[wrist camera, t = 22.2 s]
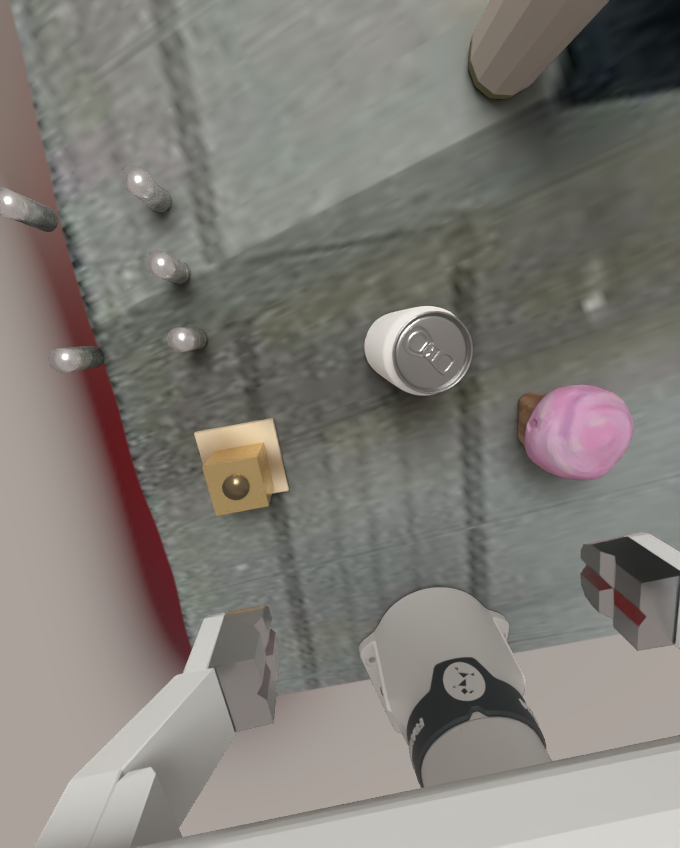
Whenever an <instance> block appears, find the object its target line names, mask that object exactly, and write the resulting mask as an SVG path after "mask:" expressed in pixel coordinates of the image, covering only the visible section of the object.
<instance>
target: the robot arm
mask: <svg viewBox="0 0 680 848" xmlns="http://www.w3.org/2000/svg"><path fill="white" fill-rule="evenodd" d="M581 559H582V560H583V562H584V563H585V564H586V566H585V568H584V569H583V571H582V572H581V586H582V589H583V591H584V594H585V596H586V598H587V599H588V601H589V602H590V604H591V605H592V606H593V607H594V608H595V609H596V610H597V611H598V612H599V613H601V614H603V615H605V616H607V617H610V618H612V619H613V626H614V628H615V629H616V630H617V631H618V632H619V633H620V634H621V635H622V636H623V637H624V638H625V639H626V640H627V641H628V642H629V643H630V644H631V645H632V646H633V647H634V648H635V649H636V650H637V651H639V650H646V649H651V648H657V647H664V646H670V645H675V647H677V648H679V649H680V552H679V551H677V550H675V549H674V548H672V547H670V546H669V545H667V544H665V543H664V542H662V541H660V540H659V539H657V538H655V537H654V536H652V535H650V534H648V533H644V532H639V533H635V534H630V535H625V536H622V537H618V538H613V539H608V540H603V541H598V542H593V543H588V544H584V545H583V547H582V549H581ZM271 620H272V617H271V614H270V610H269V607H268V606H266V605H264V606H258V607H252V608H246V609H240V610H234V611H228V612H224V613H218V614H213V615H208V616H207V617H206V618H205V619H204V620H203V622H202V625H201V628H200V630H199V633H198V635H197V638H196V641H195V643H194V646H193V648H192V651H191V654H190V656H189V659H188V661H187V664H186V666H185V669H184V672H183V674H179V675H176V676H175V677H174V678H173V679H172V680H171V681H170V682H169V683H168V684H167V685H166V686H165V687H164V688H163V689H162V690H161V691H160V692H159V693H158V694H157V695H156V696H155V697H154V698H153V699H152V700H151V701H150V702H149V703H148V704H147V705H146V706H145V707H144V708H143V709H142V710H141V711H140V712H139V713H138V714H137V715H136V716H135V717H134V718H133V719H132V720H131V721H130V722H129V723H128V724H127V725H126V726H125V727H124V728H123V729H122V730H121V731H120V732H119V733H118V734H117V735H116V736H115V737H114V738H113V739H112V740H111V741H110V742H109V743H108V744H107V745H106V746H105V747H104V748H103V749H101V750H100V751H99V753H97V755H96V756H94V757H93V758H92V760H91V761H90V762H88V763H87V764H86V765H85V766H84V767H83V768H82V769H81V770H80V771H79V772H78V773H77V774H76V775H75V776H74V777H73V778H72V779H71V780H70V782H69V784H68V786H67V787H66V789H65V791H64V793H63V795H62V797H61V798H60V800H59V802H58V804H57V806H56V808H55V809H54V811H53V813H52V815H51V817H50V819H49V821H48V822H47V824H46V826H45V828H44V830H43V831H42V833H41V835H40V837H39V839H38V841H37V843H36V844H35V846H34V848H680V735H678V736H673V737H668V738H663V739H658V740H654V741H649V742H644V743H639V744H634V745H629V746H625V747H620V748H615V749H610V750H605V751H601V752H596V753H591V754H586V755H581V756H576V757H572V758H567V759H562V760H557V761H552V760H551V758H550V756H549V755H548V753H547V751H546V743H545V739H544V737H543V734H542V732H541V730H540V728H539V725H538V722H537V720H536V719H535V716H534V715H533V713H532V711H531V709H530V708H529V707H528V706H527V704H526V703H525V701H524V699H523V695H524V690H525V686H524V685H525V684H526V678H525V676H524V674H523V672H522V670H521V668H520V666H519V664H518V662H517V660H516V658H515V656H514V654H513V653H512V651H511V649H510V647H509V645H508V643H507V638H508V632H509V624H508V622H507V620H506V618H505V617H504V616H503V615H501V614H499V613H497V612H494V611H491V610H488V609H486V608H485V607H484V606H482V605H481V604H480V603H479V602H478V601H477V600H476V599H475V598H474V597H472V596H471V595H469V594H467V593H465V592H463V591H460V590H457V589H453V588H446V587H434V588H427V589H423V590H419V591H416V592H414V593H411V594H409V595H407V596H405V597H404V598H402V599H400V600H399V601H398V602H396V603H395V604H394V605H393V606H392V607H391V608H390V609H389V610H388V611H387V612H386V614H385V615H384V616H383V618H382V620H381V621H380V623H379V625H378V627H377V628H376V630H375V631H374V632H373V633H372V634H370V635H369V636H368V637H367V638H366V639H364V640H363V641H362V642H361V644H360V645H359V648H358V649H359V653H360V657H361V659H362V662H363V664H364V666H365V668H366V670H367V672H368V674H369V677H370V679H371V681H372V683H373V685H374V687H375V690H376V692H377V694H378V696H379V698H380V700H381V702H382V705H383V707H384V709H385V711H386V713H387V715H388V717H389V720H390V722H391V724H392V726H393V728H394V730H395V731H396V732H399V733H402V735H403V737H404V738H405V740H406V742H407V744H408V746H409V751H410V752H409V753H410V757H411V761H412V765H413V768H414V770H415V773H416V776H417V779H418V782H419V784H420V786H421V788H420V789H415V790H411V791H405V792H400V793H396V794H391V795H386V796H382V797H376V798H371V799H366V800H362V801H357V802H352V803H348V804H342V805H337V806H332V807H328V808H323V809H318V810H313V811H308V812H303V813H298V814H294V815H289V816H284V817H279V818H274V819H269V820H265V821H259V822H255V823H250V824H245V825H240V826H235V827H230V828H225V829H221V830H216V831H211V832H206V833H201V834H196V835H191V836H187V837H182V835H181V833H180V830H179V827H180V825H181V824H182V822H183V821H184V819H185V817H186V816H187V814H188V812H189V811H190V809H191V807H192V806H193V804H194V803H195V800H196V799H197V798H198V796H199V794H200V793H201V791H202V789H203V788H204V786H205V784H206V783H207V781H208V779H209V778H210V776H211V775H212V773H213V771H214V770H215V768H216V766H217V765H218V763H219V761H220V760H221V758H222V757H223V755H224V753H225V752H226V750H227V748H228V747H229V745H230V743H231V742H232V740H233V739H234V737H235V735H236V734H235V732H239V731H243V730H248V729H252V728H256V727H260V726H265V725H269V724H273V723H274V714H275V705H276V696H277V693H276V690H275V686H274V681H275V680H276V679H277V677H278V676H279V665H280V663H279V646H278V640H277V636H276V633H275V632H274V631H273V630H272V629H270V627H271ZM371 657H372V658H371Z"/></svg>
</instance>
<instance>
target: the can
mask: <svg viewBox="0 0 680 848" xmlns="http://www.w3.org/2000/svg"><path fill="white" fill-rule="evenodd" d="M364 349H365V355H366V358H367V361H368V363H369V364H370V366H371V367H372V368H373V369H374V370H375V371H376V372H377V373H378V374H379V375H381V376H382V377H384V378H385V379H386V380H388V381H389V382H391V383H392V384H394V385H395V386H397V387H398V388H400V389H401V390H403V391H405V392H408V393H410V394H414V395H422V396H425V395H433V394H436V393H440V392H444V391H446V390H448V389H450V388H452V387H453V386H455V385H456V384H457V383H458V382H459V381H460V380H461V379H462V378H463V377H464V375H465V374H466V372H467V371H468V369H469V366H470V364H471V360H472V355H473V344H472V339H471V336H470V333H469V331H468V329H467V328H466V326H465V325H464V324H463V323H462V322H461V321H460V320H459V319H458V318H457V317H456V316H455V315H453V314H452V313H450V312H449V311H447V310H445V309H442V308H439V307H433V306H422V307H416V308H410V309H406V310H401V311H397V312H392V313H389V314H386V315H384V316H382V317H380V318H379V319H377V320H376V321H375V322H374V323H373V324H372V326H371V327H370V329H369V331H368V333H367V336H366V339H365V345H364Z"/></svg>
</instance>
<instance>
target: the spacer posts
mask: <svg viewBox="0 0 680 848" xmlns="http://www.w3.org/2000/svg"><path fill="white" fill-rule="evenodd" d="M121 178H122V183H123V185H124V187H125V188H126V189H127V190H128V191H129V192H130V193H132V194H133V195H134V196H136V197H137V198H138V199H140V200H141V201H142V202H144V203H145V204H146V205H148V206H149V207H150V208H152V209H153V210H155V211H156V212H159V213H163V212H166V211H168V210H169V208H170V207H171V196H170V194H169V193H168V192H167V191H166V190H165V189H164V188H163V187H162V186H161V185H160V184H159V183H158V182H157V181H156V180H155V179H154V178H153V177H151V176H150V175H149V174H148V173H147V172H146V171H145V170H144V169H143V168H142V167H140V166H138V165H128V166H127V167H125V168H124V170H123V172H122V177H121ZM0 215H1V216H4V217H7V218H9V219H12V220H15V221H18V222H21V223H23V224H26V225H29V226H32V227H35V228H37V229H40V230H43V231H46V232H50V231H53V230H54V229H55V228H56V227H57V224H58V220H57V216H56V214H55V213H54V212H53V210H52V209H50V208H48V207H46V206H44V205H42V204H39V203H37V202H35V201H33V200H31V199H29V198H27V197H24V196H22V195H20V194H18V193H15V192H13V191H11V190H9V189H7V188H5V187H0ZM146 267H147V269H148V271H149V272H150V273H151V274H152V275H154V276H156V277H159V278H162V279H165V280H168V281H171V282H174V283H177V284H184V283H186V282H187V281H188V280H189V278H190V270H189V267H188V266H187V265H186V264H185V263H184V262H182V261H180V260H178V259H176V258H174V257H172V256H170V255H168V254H166V253H164V252H162V251H158V250H156V251H152V252H150V253H149V254H148V256H147V258H146ZM168 343H169V345H170V347H171V348H172V349H174V350H175V351H178V352H185V351H191V350H196V349H201V348H203V347H204V346H205V345H206V343H207V335H206V333H205V332H204V331H203V330H201V329H199V328H174V329H172V330H171V331H170V332H169V334H168ZM48 360H49V363H50V365H51V367H52V368H53V369H54V370H56V371H58V372H61V373H65V372H71V371H76V370H82V369H89V368H94V367H98V366H100V365H101V364H102V363H103V361H104V356H103V353H102V352H101V350H100V349H98V348H97V347H94V346H86V347H72V348H59V349H54V350H53V351H51V352H50V354H49V358H48Z"/></svg>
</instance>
